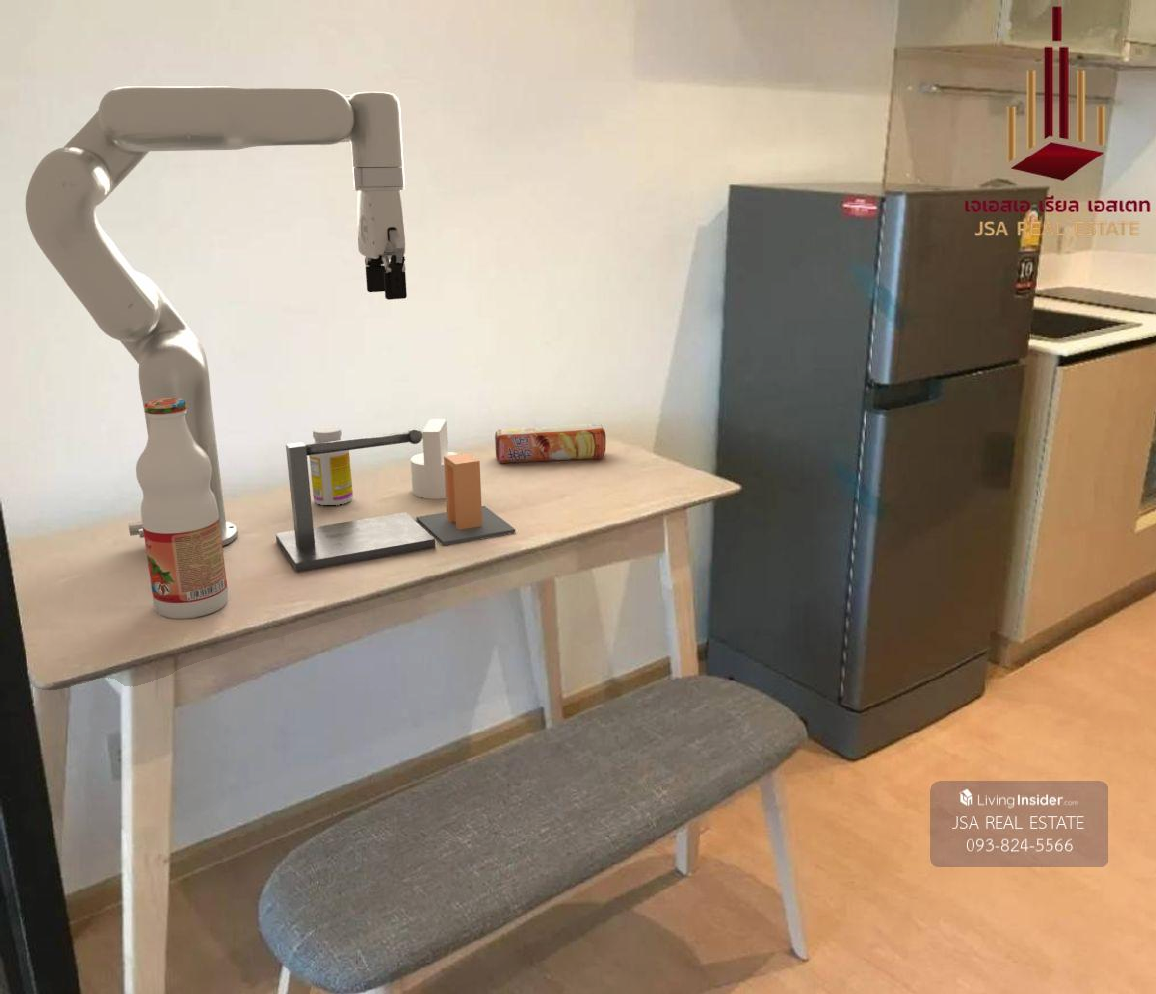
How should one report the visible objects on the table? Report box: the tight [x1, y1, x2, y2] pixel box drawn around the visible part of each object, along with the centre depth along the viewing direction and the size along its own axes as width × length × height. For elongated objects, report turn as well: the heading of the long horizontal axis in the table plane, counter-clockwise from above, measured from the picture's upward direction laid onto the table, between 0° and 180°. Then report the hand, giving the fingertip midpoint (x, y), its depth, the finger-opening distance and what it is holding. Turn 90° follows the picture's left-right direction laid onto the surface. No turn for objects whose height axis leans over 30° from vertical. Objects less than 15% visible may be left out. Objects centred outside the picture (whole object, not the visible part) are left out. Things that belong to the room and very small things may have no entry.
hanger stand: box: [275, 427, 436, 574], centre depth 161 cm, size 22×14×17 cm, turn 117°
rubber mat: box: [415, 505, 516, 547], centre depth 171 cm, size 12×13×1 cm
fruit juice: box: [135, 398, 229, 620], centre depth 138 cm, size 9×9×28 cm
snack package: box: [494, 422, 607, 464], centre depth 207 cm, size 21×7×7 cm, turn 97°
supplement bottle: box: [309, 425, 354, 506], centre depth 182 cm, size 7×7×13 cm
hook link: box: [444, 452, 482, 530], centre depth 169 cm, size 4×5×11 cm
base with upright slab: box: [410, 418, 458, 500], centre depth 187 cm, size 9×9×12 cm
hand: (386, 295), depth 165 cm, fingers open, 9 cm apart
